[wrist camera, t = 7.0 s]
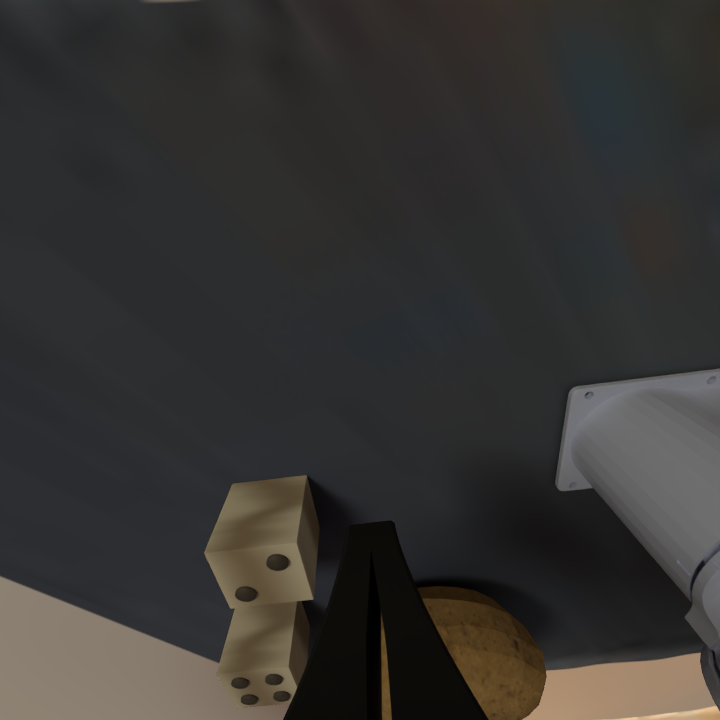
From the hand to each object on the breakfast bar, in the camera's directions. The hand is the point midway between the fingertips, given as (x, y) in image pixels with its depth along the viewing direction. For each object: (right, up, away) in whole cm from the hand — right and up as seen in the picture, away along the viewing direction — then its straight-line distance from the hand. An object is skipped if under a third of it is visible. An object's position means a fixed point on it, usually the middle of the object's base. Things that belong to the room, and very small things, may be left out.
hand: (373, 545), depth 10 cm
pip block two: (-6, -5, +14) cm, 16 cm away
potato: (+5, -14, +18) cm, 24 cm away
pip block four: (-8, -16, +19) cm, 26 cm away
